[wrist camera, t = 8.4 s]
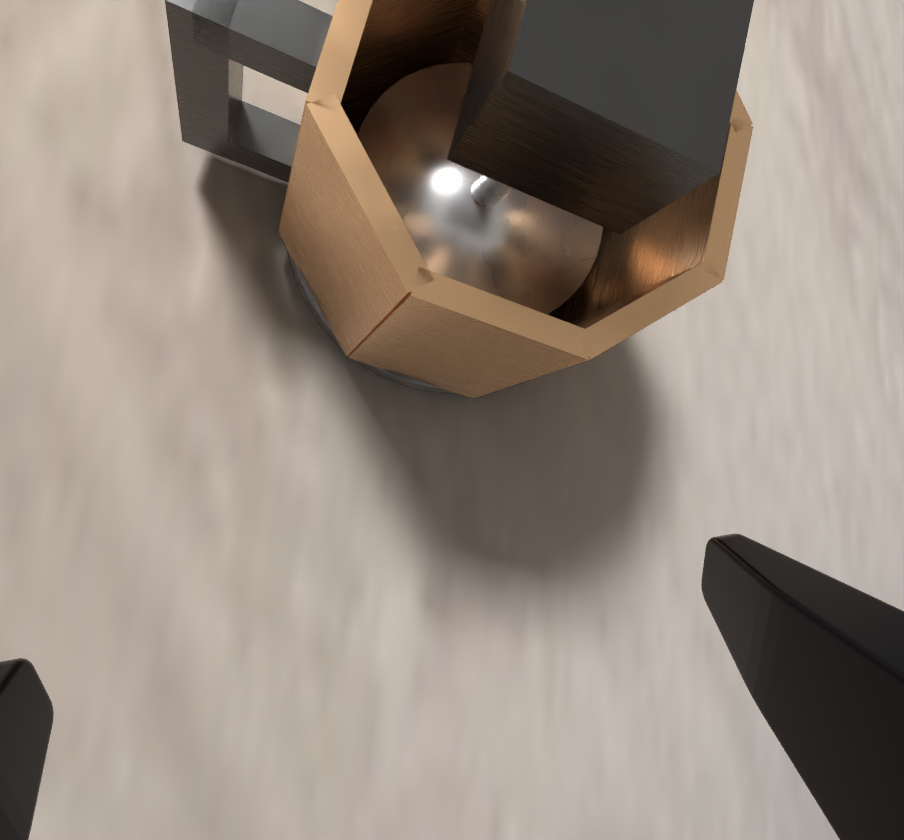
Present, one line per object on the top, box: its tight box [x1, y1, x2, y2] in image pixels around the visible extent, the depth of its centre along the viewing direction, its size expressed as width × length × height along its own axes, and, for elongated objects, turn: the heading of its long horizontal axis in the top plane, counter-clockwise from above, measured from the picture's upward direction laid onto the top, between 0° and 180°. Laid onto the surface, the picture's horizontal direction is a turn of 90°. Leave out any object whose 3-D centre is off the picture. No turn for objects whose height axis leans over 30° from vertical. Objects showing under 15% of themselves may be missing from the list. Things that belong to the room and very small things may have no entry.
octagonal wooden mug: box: [165, 0, 753, 398], centre depth 17 cm, size 10×13×8 cm
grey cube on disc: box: [357, 0, 754, 314], centre depth 15 cm, size 7×7×8 cm
